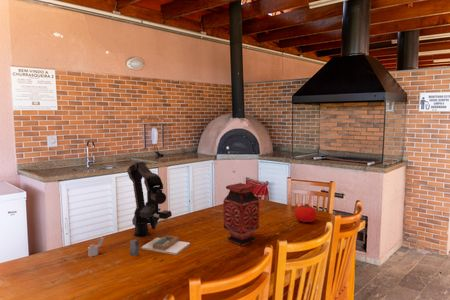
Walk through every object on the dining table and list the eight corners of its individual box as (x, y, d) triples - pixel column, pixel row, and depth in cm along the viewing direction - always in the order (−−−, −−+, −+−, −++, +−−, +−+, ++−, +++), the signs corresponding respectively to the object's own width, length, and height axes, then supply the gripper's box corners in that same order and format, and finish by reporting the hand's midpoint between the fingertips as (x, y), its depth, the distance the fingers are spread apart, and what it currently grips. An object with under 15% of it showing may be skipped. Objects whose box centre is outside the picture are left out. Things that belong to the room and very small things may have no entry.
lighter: (89, 256, 161) (88, 240, 160) (88, 255, 162) (87, 239, 161) (104, 253, 165) (103, 237, 164) (103, 252, 166) (102, 236, 165)
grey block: (130, 255, 163) (129, 241, 162) (134, 252, 166) (133, 239, 165) (135, 256, 162) (135, 242, 161) (139, 253, 165) (138, 239, 164)
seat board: (141, 248, 171) (141, 242, 170) (156, 239, 184) (156, 233, 183) (176, 255, 164) (176, 248, 163) (189, 244, 176) (189, 238, 176)
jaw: (154, 246, 170) (154, 243, 170) (164, 239, 179) (164, 236, 179) (156, 246, 170) (156, 243, 169) (167, 240, 179) (167, 236, 179)
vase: (240, 234, 192) (241, 182, 189) (259, 241, 182) (260, 186, 179) (222, 240, 182) (223, 185, 179) (241, 248, 172) (242, 190, 169)
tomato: (318, 221, 216) (318, 204, 215) (311, 226, 206) (312, 209, 205) (298, 217, 224) (298, 201, 222) (291, 222, 213) (291, 206, 212)
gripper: (127, 201, 170) (128, 232, 171) (160, 205, 163) (160, 236, 164) (141, 196, 180) (141, 225, 181) (171, 200, 173) (172, 229, 175)
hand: (153, 229), depth 175 cm, fingers closed
